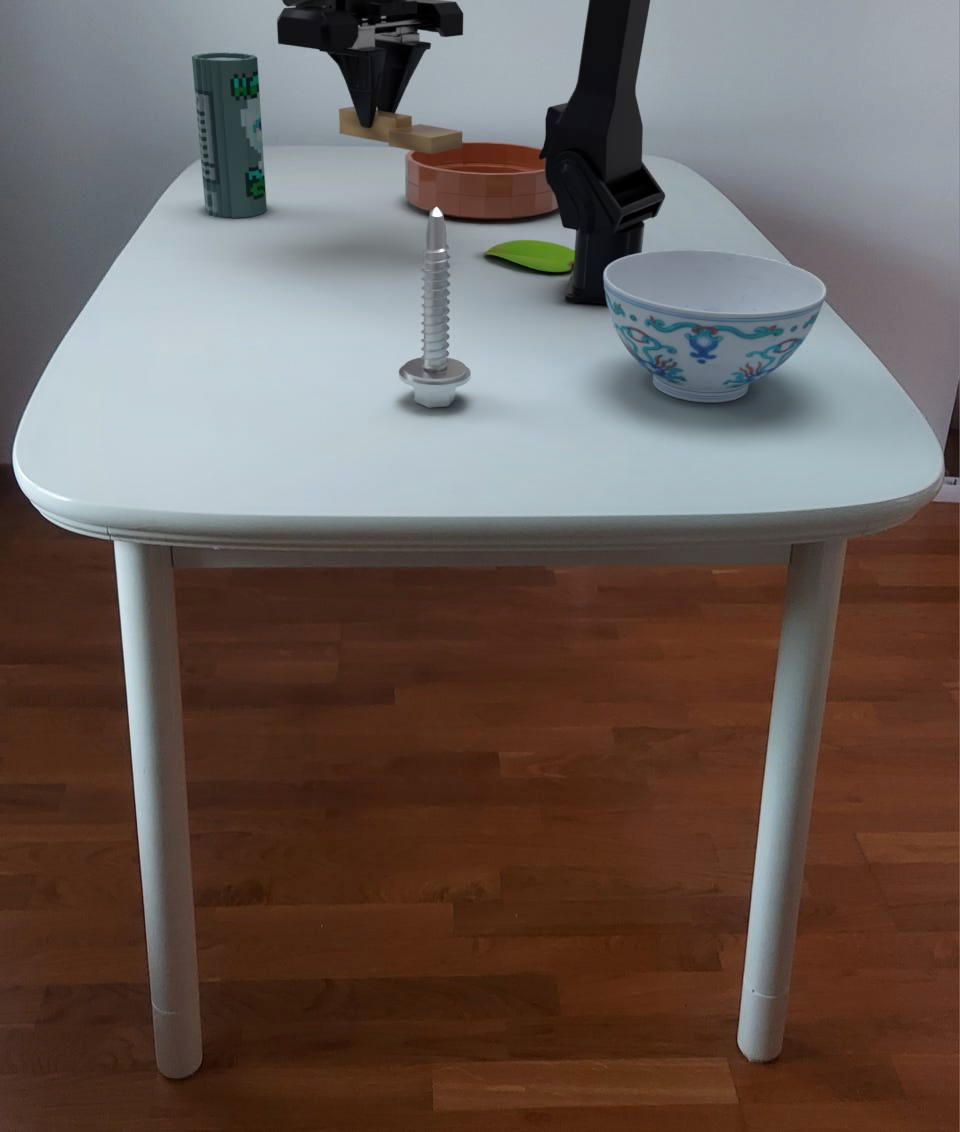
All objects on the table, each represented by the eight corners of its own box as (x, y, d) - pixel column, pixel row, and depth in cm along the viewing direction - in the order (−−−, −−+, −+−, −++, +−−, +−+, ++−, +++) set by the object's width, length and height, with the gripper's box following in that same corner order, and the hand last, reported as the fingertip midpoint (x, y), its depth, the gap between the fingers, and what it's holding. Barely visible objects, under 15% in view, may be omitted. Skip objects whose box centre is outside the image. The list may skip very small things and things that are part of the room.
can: (271, 215, 122) (261, 60, 115) (212, 219, 120) (199, 61, 113) (258, 202, 127) (248, 52, 120) (202, 205, 125) (188, 53, 118)
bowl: (554, 228, 121) (557, 178, 119) (391, 217, 123) (390, 168, 121) (568, 191, 136) (571, 146, 133) (422, 182, 138) (422, 138, 135)
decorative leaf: (524, 283, 105) (525, 273, 105) (477, 253, 112) (477, 243, 111) (596, 268, 108) (596, 258, 108) (546, 240, 115) (546, 230, 114)
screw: (432, 420, 77) (384, 399, 80) (484, 402, 80) (436, 382, 83) (434, 220, 71) (382, 205, 74) (491, 208, 74) (438, 194, 76)
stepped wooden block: (462, 147, 106) (463, 121, 104) (431, 154, 102) (431, 127, 101) (363, 129, 112) (362, 104, 111) (331, 135, 109) (330, 110, 108)
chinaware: (642, 435, 76) (654, 320, 72) (566, 356, 88) (573, 254, 84) (848, 417, 80) (870, 306, 76) (747, 343, 92) (761, 244, 88)
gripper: (375, -73, 111) (377, 103, 118) (225, -71, 98) (239, 126, 105) (468, -67, 105) (464, 118, 113) (322, -64, 92) (329, 144, 100)
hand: (375, 125), depth 108 cm, fingers closed on stepped wooden block, 2 cm apart
